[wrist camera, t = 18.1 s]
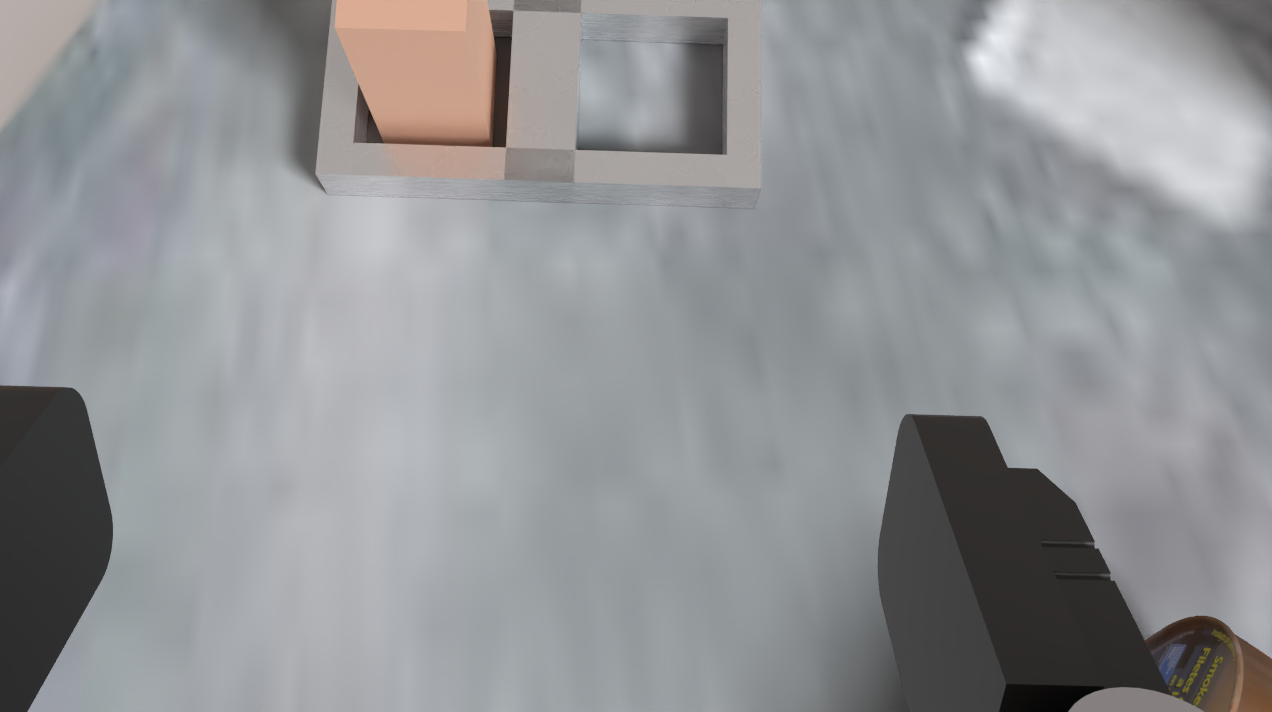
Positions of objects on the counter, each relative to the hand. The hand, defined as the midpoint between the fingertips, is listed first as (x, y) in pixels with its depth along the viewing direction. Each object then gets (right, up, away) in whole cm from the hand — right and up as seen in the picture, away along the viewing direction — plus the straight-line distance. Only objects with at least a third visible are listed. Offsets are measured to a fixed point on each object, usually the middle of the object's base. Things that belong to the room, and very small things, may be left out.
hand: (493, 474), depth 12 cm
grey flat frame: (-2, +11, +34) cm, 36 cm away
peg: (-6, +11, +34) cm, 36 cm away
